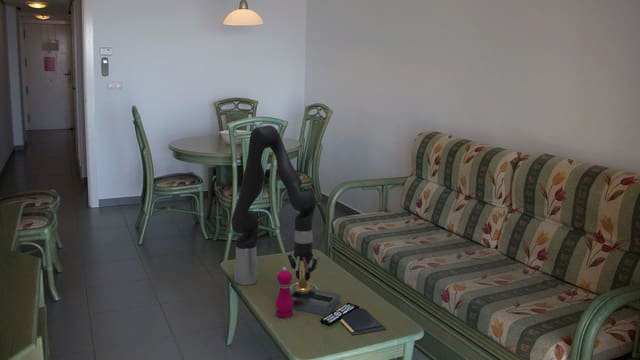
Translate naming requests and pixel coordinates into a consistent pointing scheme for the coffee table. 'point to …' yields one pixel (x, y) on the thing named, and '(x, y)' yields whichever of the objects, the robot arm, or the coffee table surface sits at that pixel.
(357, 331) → the wallet
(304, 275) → the bolt
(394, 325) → the coffee table surface
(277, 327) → the coffee table surface
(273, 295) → the coffee table surface
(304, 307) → the keyhole plate
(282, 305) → the pepper mill
